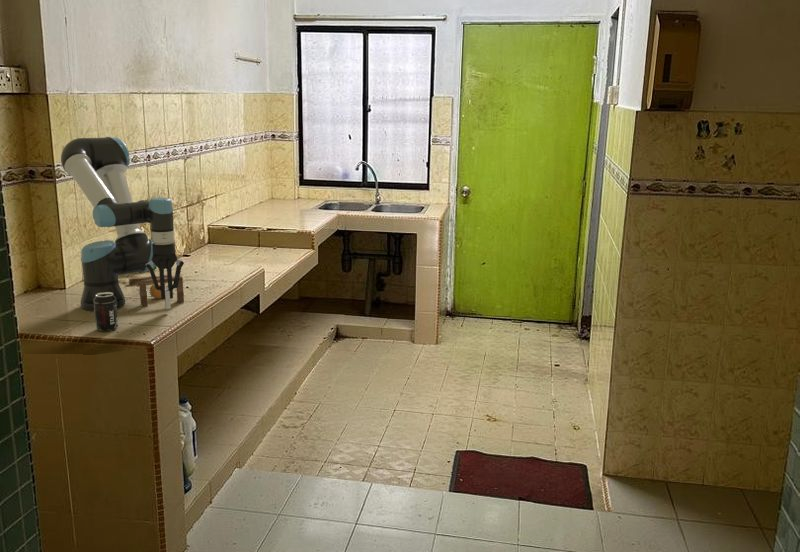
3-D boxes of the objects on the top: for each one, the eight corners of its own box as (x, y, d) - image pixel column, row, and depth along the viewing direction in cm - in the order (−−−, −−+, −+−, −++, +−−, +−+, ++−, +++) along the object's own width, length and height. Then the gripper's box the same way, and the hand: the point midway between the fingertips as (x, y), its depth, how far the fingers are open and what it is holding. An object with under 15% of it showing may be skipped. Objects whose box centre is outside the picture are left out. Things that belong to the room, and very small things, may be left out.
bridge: (184, 302, 263) (182, 277, 261) (141, 307, 257) (139, 281, 255) (182, 300, 266) (181, 275, 264) (140, 304, 260) (138, 279, 257)
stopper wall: (129, 285, 287) (129, 279, 286) (129, 284, 288) (128, 278, 288) (170, 281, 294) (170, 275, 293) (169, 280, 295) (169, 274, 295)
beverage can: (92, 332, 228) (89, 296, 225) (101, 326, 235) (98, 291, 232) (113, 332, 228) (110, 297, 225) (121, 326, 235) (118, 291, 232)
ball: (150, 285, 263) (148, 282, 268) (151, 301, 265) (149, 297, 270) (166, 283, 266) (164, 280, 271) (168, 299, 267) (165, 295, 272)
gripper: (145, 246, 238) (150, 312, 244) (184, 243, 244) (188, 308, 249) (142, 242, 245) (147, 307, 250) (180, 239, 250) (184, 303, 256)
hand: (167, 307), depth 250 cm, fingers closed
